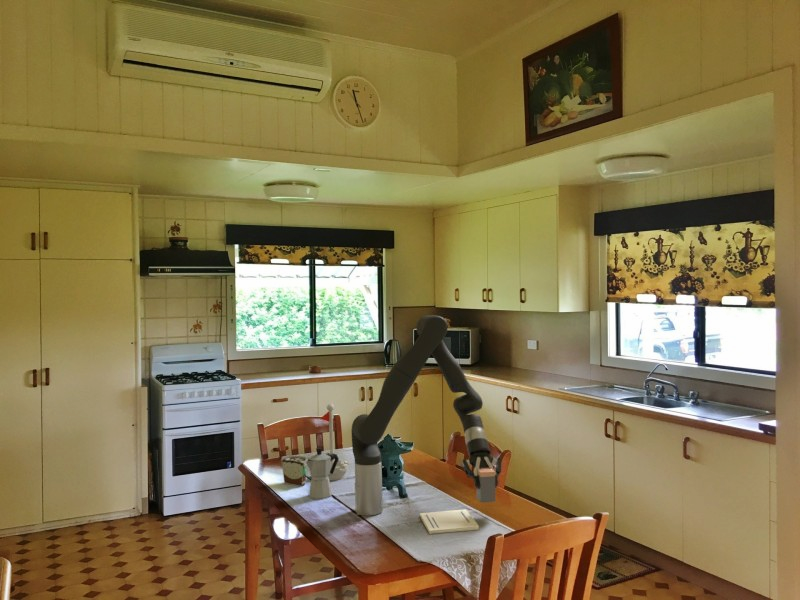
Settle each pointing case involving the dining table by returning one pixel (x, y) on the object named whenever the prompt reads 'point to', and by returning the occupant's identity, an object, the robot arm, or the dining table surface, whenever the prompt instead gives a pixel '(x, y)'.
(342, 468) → the flag stand
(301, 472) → the food container
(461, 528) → the notepad
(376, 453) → the robot arm
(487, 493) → the grey pink block
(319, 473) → the coffee maker
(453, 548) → the dining table surface
